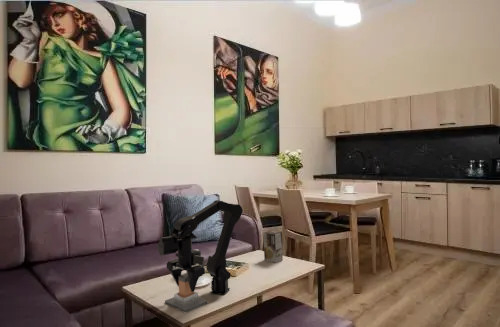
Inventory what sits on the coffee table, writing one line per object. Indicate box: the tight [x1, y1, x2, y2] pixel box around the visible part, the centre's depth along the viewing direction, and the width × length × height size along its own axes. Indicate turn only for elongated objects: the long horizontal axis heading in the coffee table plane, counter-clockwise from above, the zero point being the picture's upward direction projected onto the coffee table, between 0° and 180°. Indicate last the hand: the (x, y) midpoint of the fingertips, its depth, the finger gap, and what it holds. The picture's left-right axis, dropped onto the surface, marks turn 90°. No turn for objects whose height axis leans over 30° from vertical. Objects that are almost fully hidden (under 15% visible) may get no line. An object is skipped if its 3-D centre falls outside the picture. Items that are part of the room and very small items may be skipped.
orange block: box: [178, 273, 193, 297], centre depth 130 cm, size 4×4×10 cm
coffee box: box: [262, 230, 284, 264], centre depth 183 cm, size 9×6×16 cm
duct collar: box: [164, 291, 209, 314], centre depth 130 cm, size 14×11×4 cm
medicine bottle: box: [185, 249, 205, 274], centre depth 164 cm, size 7×7×12 cm
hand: (185, 288), depth 130 cm, fingers open, 9 cm apart
